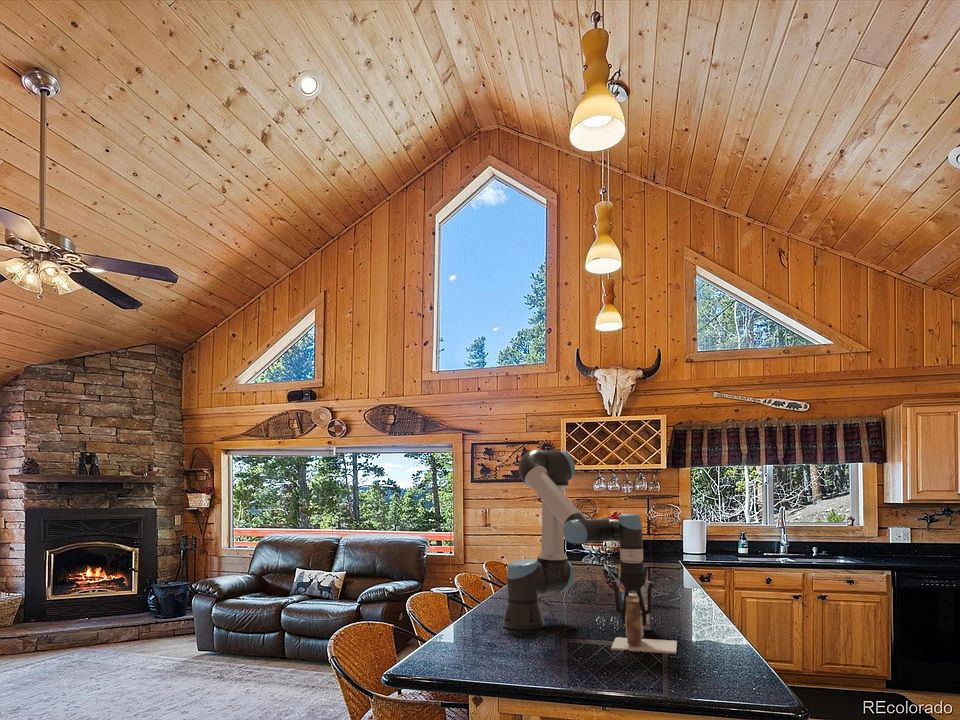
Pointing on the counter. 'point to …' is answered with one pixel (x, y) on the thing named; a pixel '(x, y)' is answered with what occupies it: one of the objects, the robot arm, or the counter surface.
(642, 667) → the counter surface
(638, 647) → the felt mat
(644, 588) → the beverage box
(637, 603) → the beige rectangular box
